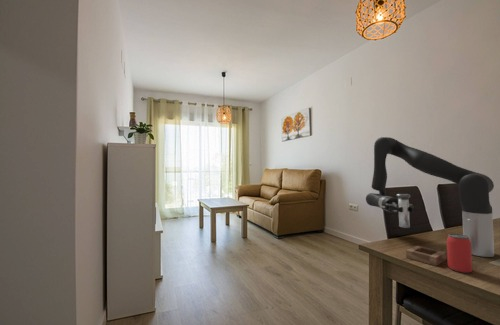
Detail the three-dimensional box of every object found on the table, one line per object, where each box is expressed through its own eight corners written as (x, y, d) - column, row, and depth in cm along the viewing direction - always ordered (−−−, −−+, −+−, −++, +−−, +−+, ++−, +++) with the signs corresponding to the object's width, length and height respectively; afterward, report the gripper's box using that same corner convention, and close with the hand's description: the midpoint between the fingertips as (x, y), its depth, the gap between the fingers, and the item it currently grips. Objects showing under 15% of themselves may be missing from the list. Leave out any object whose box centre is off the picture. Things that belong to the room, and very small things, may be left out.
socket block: (417, 252, 102) (417, 245, 102) (446, 259, 94) (446, 252, 94) (406, 257, 96) (406, 250, 97) (436, 265, 88) (435, 257, 88)
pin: (401, 224, 111) (399, 193, 111) (413, 226, 107) (412, 194, 107) (395, 226, 108) (394, 194, 109) (408, 228, 104) (406, 195, 104)
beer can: (463, 274, 81) (462, 239, 81) (443, 267, 87) (441, 233, 87) (477, 272, 82) (475, 237, 83) (456, 264, 89) (455, 232, 89)
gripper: (374, 196, 123) (389, 201, 106) (403, 196, 121) (424, 201, 104) (374, 211, 122) (390, 218, 105) (404, 211, 121) (425, 218, 104)
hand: (407, 209), depth 105 cm, fingers closed on pin, 4 cm apart
